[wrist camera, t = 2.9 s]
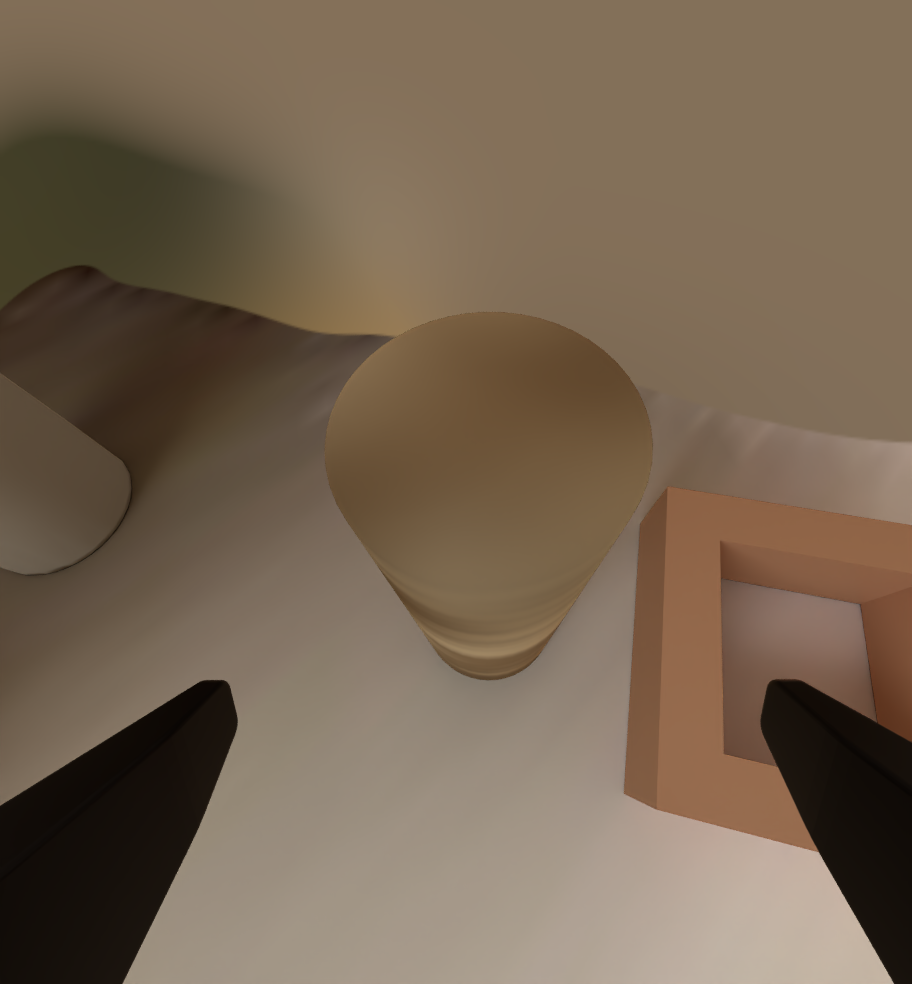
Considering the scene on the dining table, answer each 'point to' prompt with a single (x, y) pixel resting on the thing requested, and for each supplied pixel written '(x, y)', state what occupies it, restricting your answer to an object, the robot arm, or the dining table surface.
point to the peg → (488, 477)
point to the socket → (698, 643)
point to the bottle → (53, 487)
